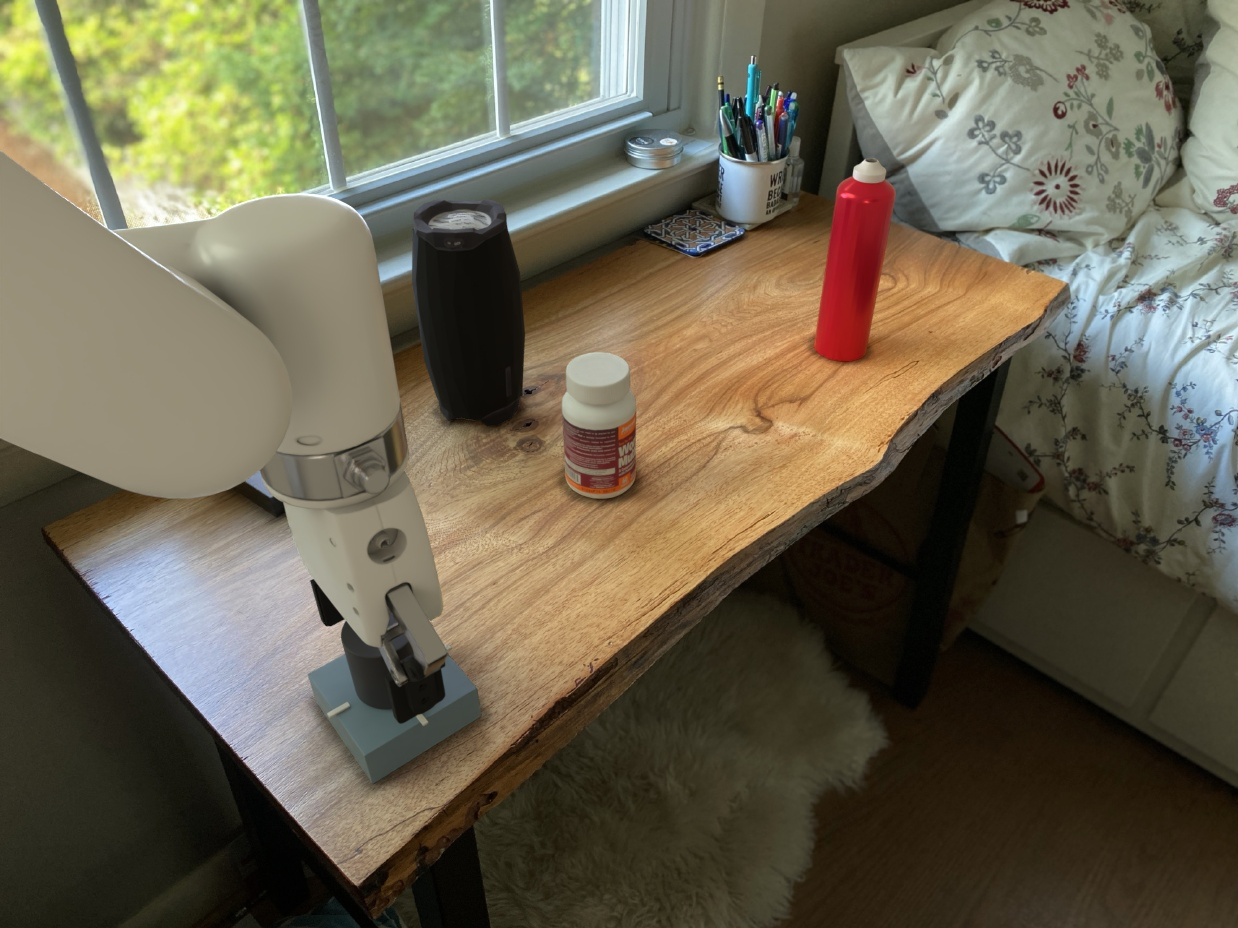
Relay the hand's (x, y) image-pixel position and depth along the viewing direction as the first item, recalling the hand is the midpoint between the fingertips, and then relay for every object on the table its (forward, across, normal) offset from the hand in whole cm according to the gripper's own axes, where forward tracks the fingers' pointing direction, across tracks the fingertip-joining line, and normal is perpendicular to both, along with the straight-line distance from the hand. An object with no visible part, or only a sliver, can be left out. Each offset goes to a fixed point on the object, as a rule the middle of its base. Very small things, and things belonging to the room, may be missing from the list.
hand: (381, 659), depth 59 cm
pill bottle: (+5, +10, -26) cm, 28 cm away
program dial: (+2, 0, 0) cm, 2 cm away
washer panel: (+5, 0, 0) cm, 5 cm away
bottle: (+5, +12, -59) cm, 60 cm away
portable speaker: (+5, +26, -24) cm, 36 cm away
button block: (+5, +29, -7) cm, 30 cm away
